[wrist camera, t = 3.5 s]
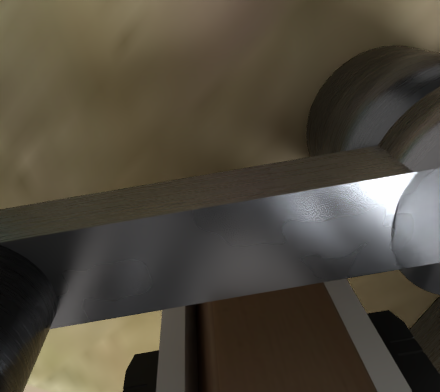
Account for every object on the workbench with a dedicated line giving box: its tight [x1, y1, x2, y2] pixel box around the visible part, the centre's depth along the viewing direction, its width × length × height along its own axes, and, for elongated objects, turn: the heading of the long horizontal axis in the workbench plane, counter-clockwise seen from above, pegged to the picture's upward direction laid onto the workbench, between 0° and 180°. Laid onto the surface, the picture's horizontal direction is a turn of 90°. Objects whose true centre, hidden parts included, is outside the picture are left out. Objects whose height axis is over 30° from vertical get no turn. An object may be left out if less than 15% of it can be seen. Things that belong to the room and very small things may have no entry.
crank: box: [0, 87, 440, 392], centre depth 5 cm, size 15×5×7 cm, turn 98°
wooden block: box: [196, 282, 377, 392], centre depth 11 cm, size 4×4×8 cm
